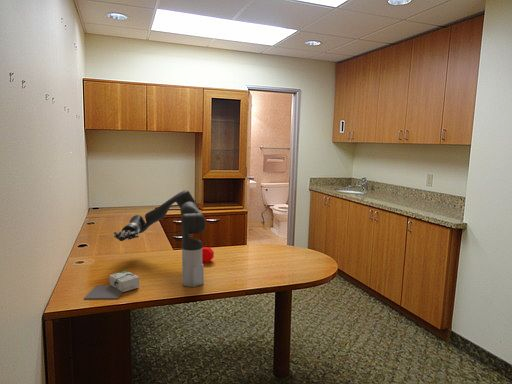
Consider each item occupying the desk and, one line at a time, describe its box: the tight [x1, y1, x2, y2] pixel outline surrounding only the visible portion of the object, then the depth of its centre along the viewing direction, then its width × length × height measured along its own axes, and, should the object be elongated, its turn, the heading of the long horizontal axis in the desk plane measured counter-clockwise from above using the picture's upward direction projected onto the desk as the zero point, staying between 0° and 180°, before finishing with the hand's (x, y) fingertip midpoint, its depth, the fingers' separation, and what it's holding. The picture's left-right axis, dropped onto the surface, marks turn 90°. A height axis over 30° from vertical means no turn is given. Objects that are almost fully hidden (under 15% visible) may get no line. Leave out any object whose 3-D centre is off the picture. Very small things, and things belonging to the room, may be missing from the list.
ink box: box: [109, 270, 140, 293], centre depth 167 cm, size 9×5×12 cm
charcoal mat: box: [83, 285, 124, 300], centre depth 161 cm, size 14×14×1 cm
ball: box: [202, 246, 215, 264], centre depth 204 cm, size 8×8×8 cm
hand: (121, 239), depth 181 cm, fingers closed
